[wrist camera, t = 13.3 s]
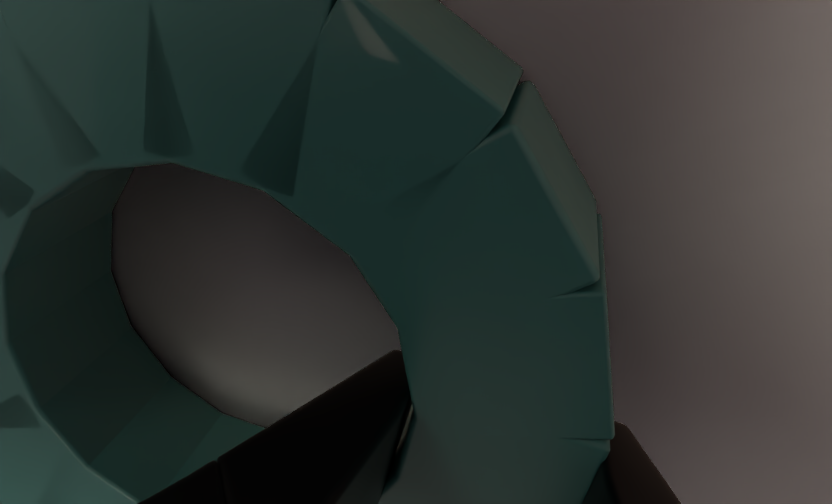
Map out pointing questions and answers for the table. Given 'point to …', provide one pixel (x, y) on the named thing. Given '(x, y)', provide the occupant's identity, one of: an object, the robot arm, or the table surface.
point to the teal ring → (322, 210)
